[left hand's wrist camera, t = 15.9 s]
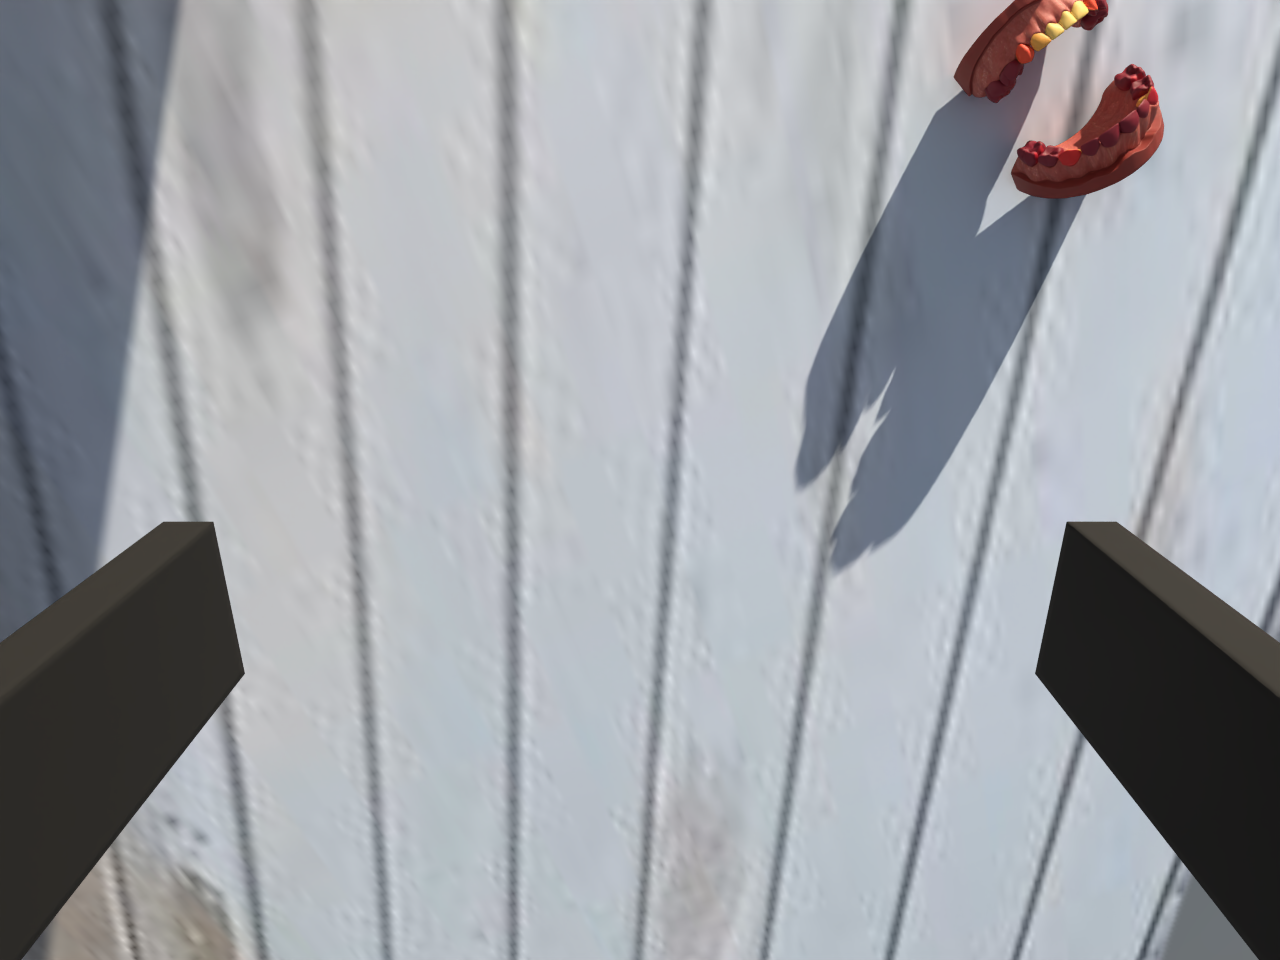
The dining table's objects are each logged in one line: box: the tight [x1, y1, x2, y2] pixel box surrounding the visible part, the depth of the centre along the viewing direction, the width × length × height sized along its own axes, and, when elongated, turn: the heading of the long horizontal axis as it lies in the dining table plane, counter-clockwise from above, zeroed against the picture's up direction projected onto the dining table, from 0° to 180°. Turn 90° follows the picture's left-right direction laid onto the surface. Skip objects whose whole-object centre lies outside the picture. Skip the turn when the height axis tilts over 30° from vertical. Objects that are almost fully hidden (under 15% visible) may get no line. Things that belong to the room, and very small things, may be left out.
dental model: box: [954, 0, 1164, 198], centre depth 31 cm, size 6×4×8 cm
